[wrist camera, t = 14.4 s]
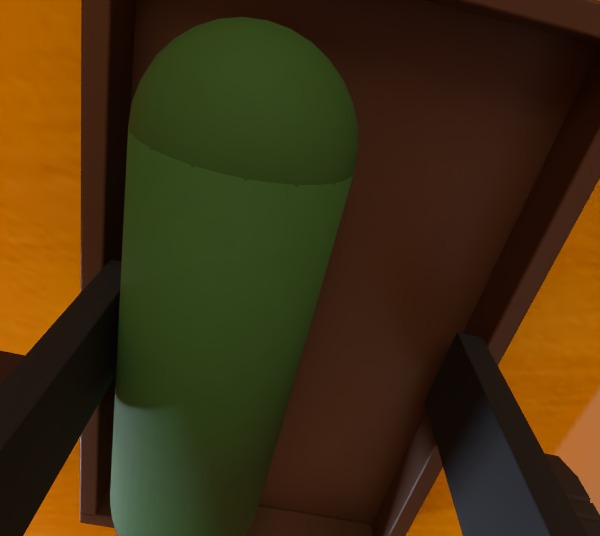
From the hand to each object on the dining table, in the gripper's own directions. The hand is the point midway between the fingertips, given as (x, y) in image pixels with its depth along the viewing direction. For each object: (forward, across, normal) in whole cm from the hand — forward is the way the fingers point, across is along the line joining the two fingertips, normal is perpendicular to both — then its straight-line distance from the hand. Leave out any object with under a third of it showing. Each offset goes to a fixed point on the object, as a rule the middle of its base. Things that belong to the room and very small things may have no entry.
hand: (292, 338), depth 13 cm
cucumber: (0, 0, 0) cm, 0 cm away
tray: (+2, 0, 0) cm, 2 cm away
